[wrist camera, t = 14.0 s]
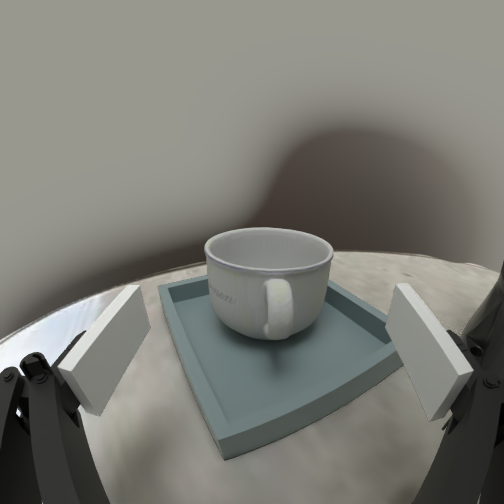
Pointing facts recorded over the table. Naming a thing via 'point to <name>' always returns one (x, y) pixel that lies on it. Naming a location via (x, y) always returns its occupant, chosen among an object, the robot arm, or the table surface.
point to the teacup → (267, 280)
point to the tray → (275, 365)
